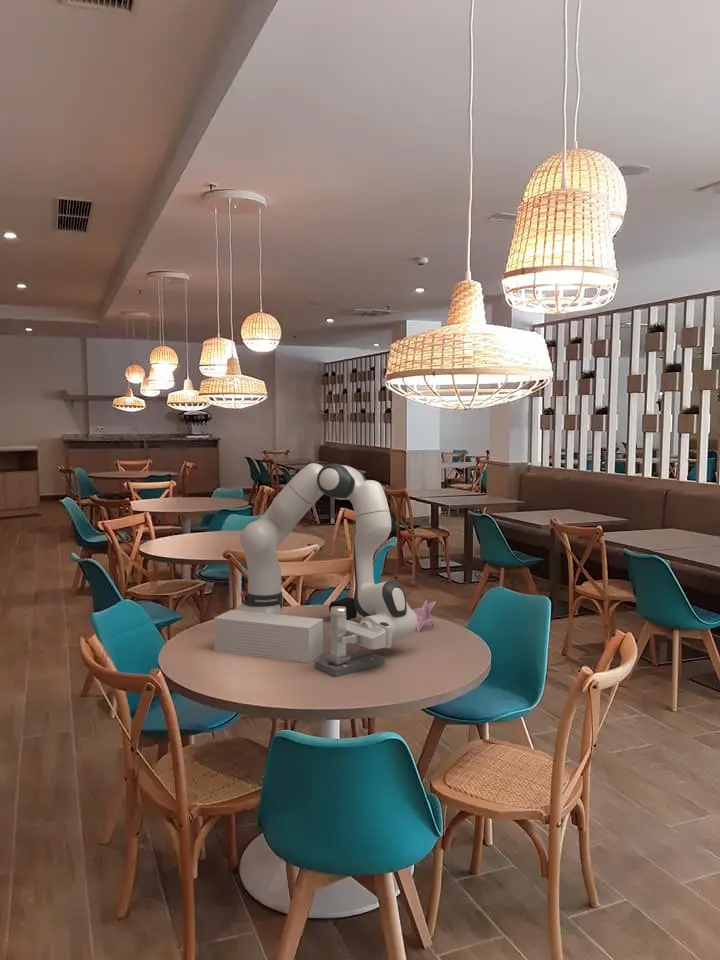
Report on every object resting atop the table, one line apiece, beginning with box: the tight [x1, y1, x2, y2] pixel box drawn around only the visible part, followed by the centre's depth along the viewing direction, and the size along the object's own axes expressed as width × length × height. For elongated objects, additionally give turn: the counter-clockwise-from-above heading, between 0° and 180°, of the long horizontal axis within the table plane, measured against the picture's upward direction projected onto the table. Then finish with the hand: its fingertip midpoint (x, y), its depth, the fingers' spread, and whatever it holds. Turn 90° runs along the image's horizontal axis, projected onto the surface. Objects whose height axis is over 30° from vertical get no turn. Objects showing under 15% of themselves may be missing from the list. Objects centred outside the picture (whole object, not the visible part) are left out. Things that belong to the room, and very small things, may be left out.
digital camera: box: [328, 596, 358, 620], centre depth 268 cm, size 10×5×7 cm, turn 148°
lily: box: [412, 599, 437, 633], centre depth 257 cm, size 12×12×10 cm
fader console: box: [314, 648, 385, 678], centre depth 217 cm, size 18×10×2 cm, turn 129°
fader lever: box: [325, 606, 351, 665], centre depth 213 cm, size 5×5×16 cm
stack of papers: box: [213, 609, 324, 663], centre depth 230 cm, size 32×11×11 cm, turn 70°
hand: (335, 638), depth 213 cm, fingers closed on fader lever, 3 cm apart
